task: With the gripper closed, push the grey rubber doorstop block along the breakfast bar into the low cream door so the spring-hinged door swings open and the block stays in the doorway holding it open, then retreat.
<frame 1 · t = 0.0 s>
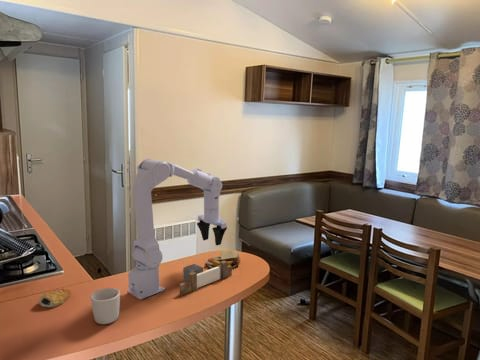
hand: (211, 242, 142), 10 cm above the breakfast bar, tool pointing down, fingers open, 7 cm apart
door frame: (192, 289, 125), on the breakfast bar
pastry: (55, 302, 118), on the breakfast bar
toy sandwich meal: (223, 265, 147), on the breakfast bar
doorstop: (193, 280, 132), on the breakfast bar
door: (208, 276, 130), point 3 cm above the breakfast bar, hinge at 0.0°
cup: (104, 318, 108), on the breakfast bar
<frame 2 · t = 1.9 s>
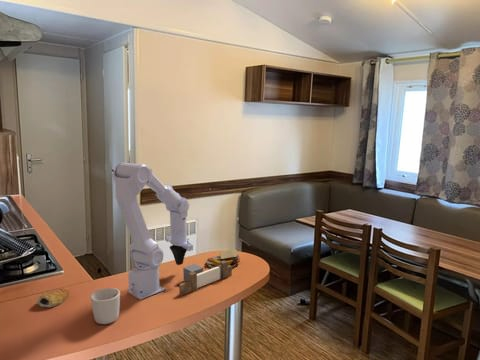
hand: (179, 264, 138), 4 cm above the breakfast bar, tool pointing down, fingers closed
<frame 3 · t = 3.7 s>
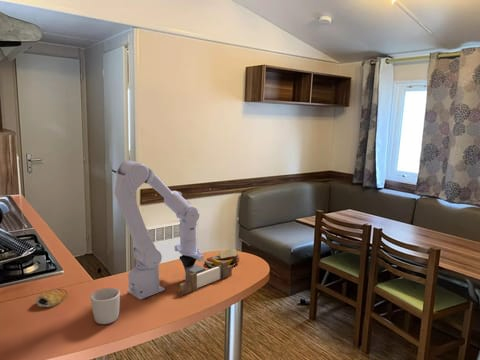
hand: (189, 274, 134), 1 cm above the breakfast bar, tool pointing down, fingers closed
doorstop: (195, 281, 132), on the breakfast bar, touching gripper
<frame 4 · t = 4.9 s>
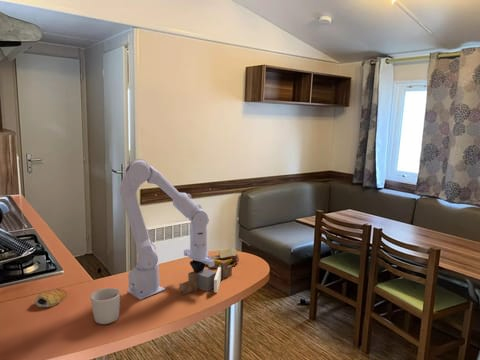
hand: (198, 280, 130), 1 cm above the breakfast bar, tool pointing down, fingers closed, pressing on doorstop
doorstop: (206, 286, 128), on the breakfast bar, touching door, gripper
door: (217, 278, 128), point 3 cm above the breakfast bar, hinge at 41.0°, touching doorstop
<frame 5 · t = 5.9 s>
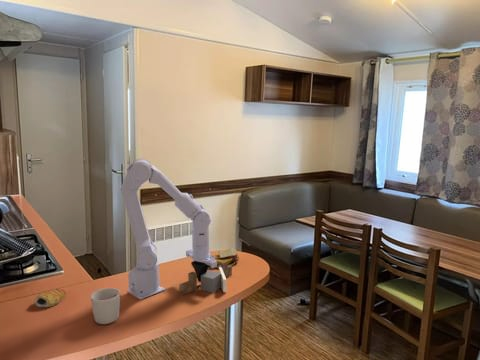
hand: (201, 280, 129), 1 cm above the breakfast bar, tool pointing down, fingers closed
doorstop: (211, 288, 127), on the breakfast bar, touching gripper
door: (222, 277, 128), point 3 cm above the breakfast bar, hinge at 57.3°
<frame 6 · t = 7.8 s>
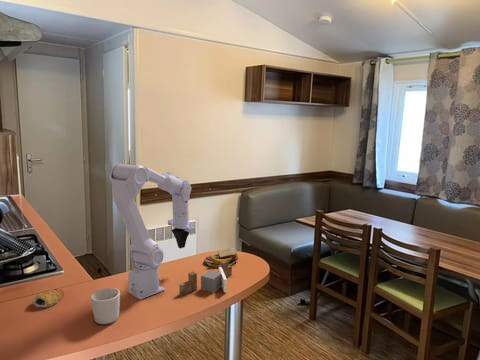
hand: (181, 247, 138), 9 cm above the breakfast bar, tool pointing down, fingers closed
doorstop: (211, 288, 127), on the breakfast bar
door: (222, 277, 128), point 3 cm above the breakfast bar, hinge at 58.0°
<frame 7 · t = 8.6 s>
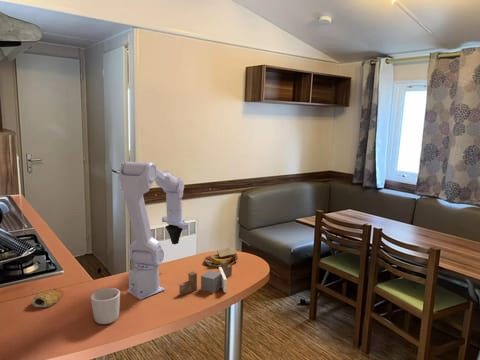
hand: (175, 243, 143), 9 cm above the breakfast bar, tool pointing down, fingers closed
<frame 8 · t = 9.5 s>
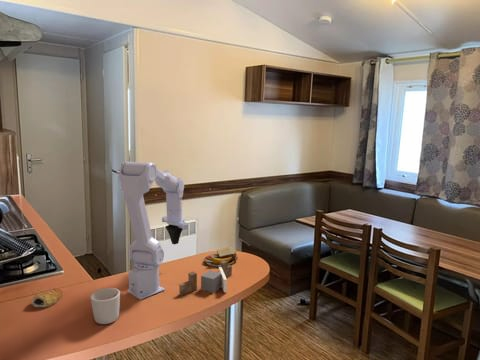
hand: (175, 243, 143), 9 cm above the breakfast bar, tool pointing down, fingers closed
at the end: door at +58° (first picture: +0°); doorstop inside the target area (0.4 cm from its centre), on the breakfast bar; doorstop tilted 0° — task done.
